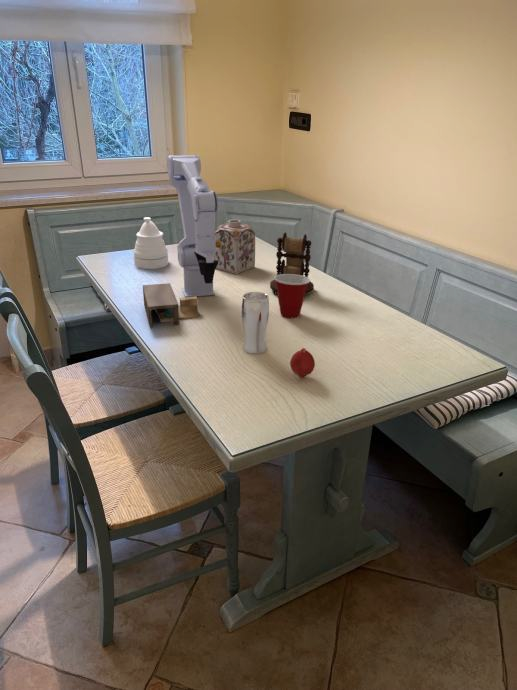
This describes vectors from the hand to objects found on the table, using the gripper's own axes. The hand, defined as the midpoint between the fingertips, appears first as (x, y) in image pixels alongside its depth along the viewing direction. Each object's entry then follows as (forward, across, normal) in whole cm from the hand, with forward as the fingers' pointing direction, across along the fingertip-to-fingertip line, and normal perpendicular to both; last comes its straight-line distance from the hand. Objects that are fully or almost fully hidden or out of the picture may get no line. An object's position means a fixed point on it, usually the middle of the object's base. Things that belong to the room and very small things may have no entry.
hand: (206, 278), depth 159 cm
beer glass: (+10, -30, -8) cm, 33 cm away
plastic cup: (+10, -10, -24) cm, 28 cm away
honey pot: (+10, +50, +13) cm, 52 cm away
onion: (+10, -47, -15) cm, 50 cm away
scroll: (+10, +10, -31) cm, 34 cm away
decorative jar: (+10, +38, -17) cm, 43 cm away
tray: (+10, -2, +9) cm, 14 cm away
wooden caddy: (+10, -2, +14) cm, 17 cm away
